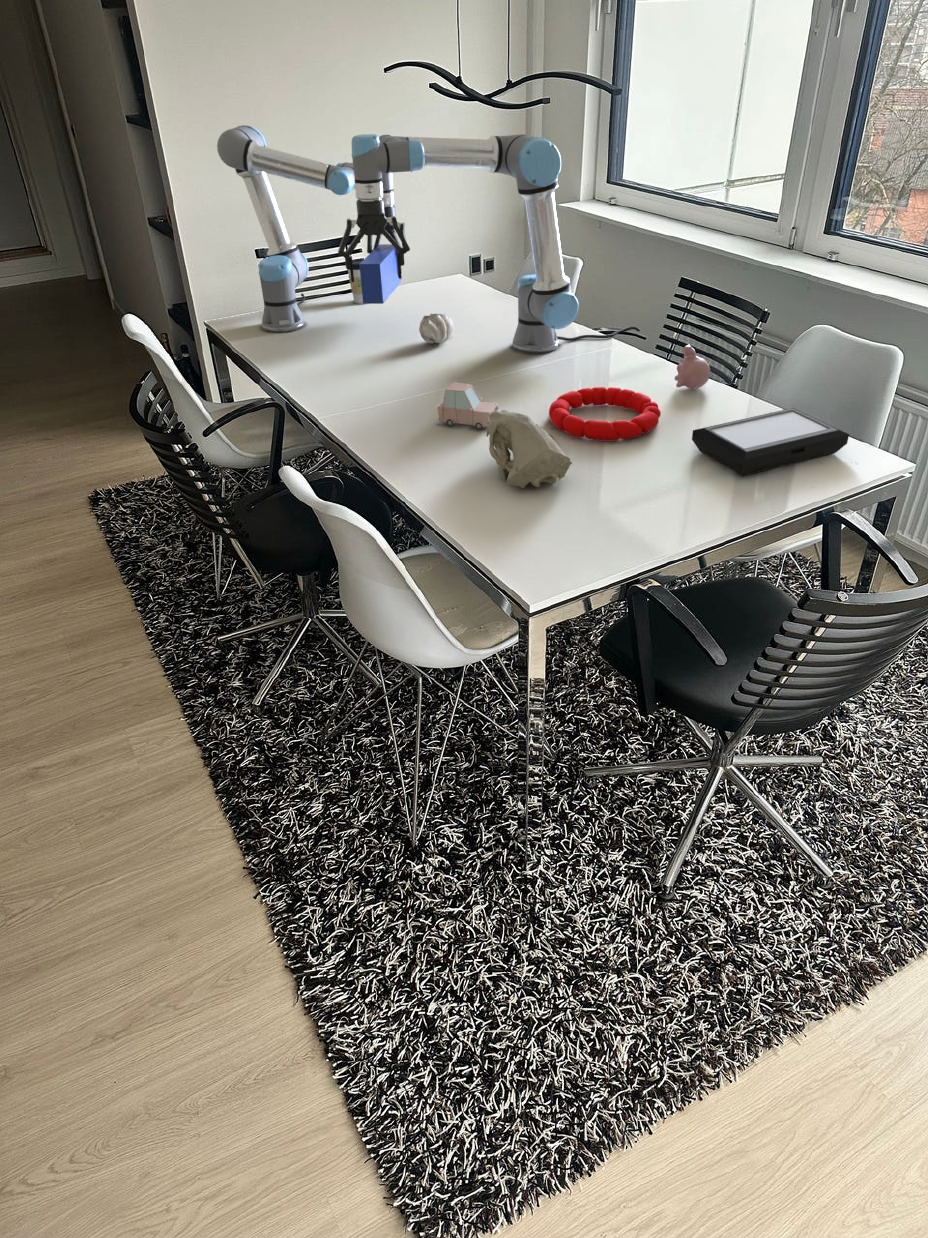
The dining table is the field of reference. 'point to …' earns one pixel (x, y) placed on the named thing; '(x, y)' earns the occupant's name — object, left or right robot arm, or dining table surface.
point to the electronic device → (769, 441)
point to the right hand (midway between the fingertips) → (376, 279)
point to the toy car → (465, 406)
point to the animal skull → (525, 450)
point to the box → (379, 274)
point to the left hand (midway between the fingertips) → (389, 273)
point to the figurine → (692, 370)
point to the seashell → (436, 328)
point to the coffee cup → (356, 282)
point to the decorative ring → (604, 428)
